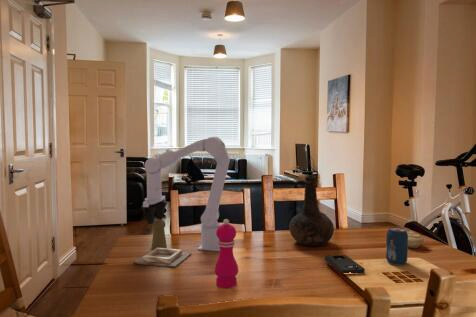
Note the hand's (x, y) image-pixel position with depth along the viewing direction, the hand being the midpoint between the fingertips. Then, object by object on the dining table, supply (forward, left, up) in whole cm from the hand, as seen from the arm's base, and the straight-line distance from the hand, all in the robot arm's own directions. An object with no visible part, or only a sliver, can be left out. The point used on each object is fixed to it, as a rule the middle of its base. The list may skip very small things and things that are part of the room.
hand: (155, 221), depth 149 cm
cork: (-2, 0, -11) cm, 11 cm away
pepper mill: (-39, +27, -11) cm, 48 cm away
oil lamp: (-99, -31, -11) cm, 104 cm away
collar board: (-10, +12, -10) cm, 18 cm away
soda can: (-91, -7, -11) cm, 92 cm away
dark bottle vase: (-60, -22, -11) cm, 64 cm away
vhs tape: (-73, +2, -11) cm, 74 cm away
